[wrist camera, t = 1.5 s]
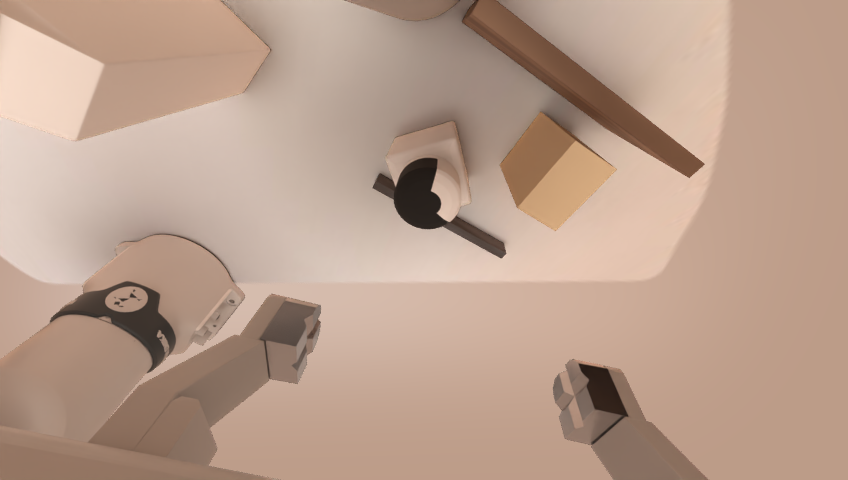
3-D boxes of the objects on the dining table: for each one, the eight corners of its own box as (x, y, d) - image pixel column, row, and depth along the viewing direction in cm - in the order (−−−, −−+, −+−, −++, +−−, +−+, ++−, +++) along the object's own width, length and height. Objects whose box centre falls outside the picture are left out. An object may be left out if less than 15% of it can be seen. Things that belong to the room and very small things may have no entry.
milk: (272, 49, 32) (44, 71, 14) (243, 94, 35) (17, 162, 16) (216, -5, 30) (-143, -64, 12) (190, 47, 33) (-141, 66, 14)
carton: (573, 134, 35) (618, 170, 26) (530, 184, 38) (557, 232, 29) (540, 111, 34) (575, 140, 25) (499, 165, 37) (517, 207, 28)
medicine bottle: (412, 192, 40) (401, 245, 30) (393, 137, 36) (373, 176, 26) (468, 178, 39) (476, 229, 28) (454, 119, 35) (457, 153, 25)
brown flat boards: (498, 249, 44) (516, 327, 32) (375, 181, 39) (345, 243, 28) (615, 119, 34) (704, 164, 22) (469, 8, 29) (484, -9, 18)
